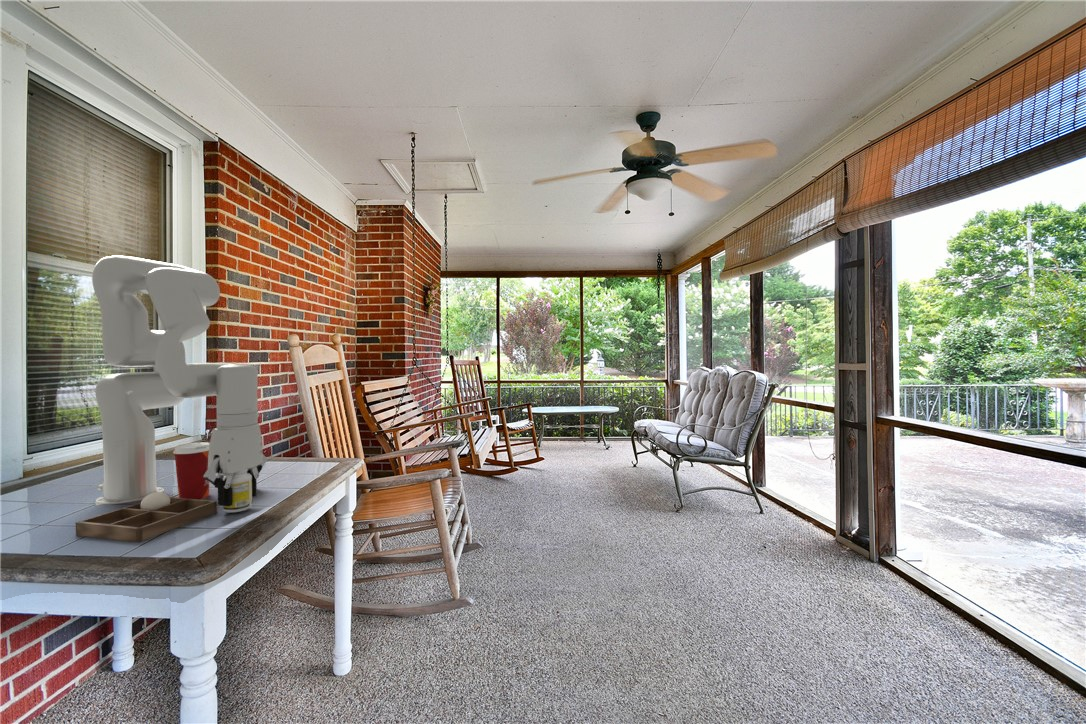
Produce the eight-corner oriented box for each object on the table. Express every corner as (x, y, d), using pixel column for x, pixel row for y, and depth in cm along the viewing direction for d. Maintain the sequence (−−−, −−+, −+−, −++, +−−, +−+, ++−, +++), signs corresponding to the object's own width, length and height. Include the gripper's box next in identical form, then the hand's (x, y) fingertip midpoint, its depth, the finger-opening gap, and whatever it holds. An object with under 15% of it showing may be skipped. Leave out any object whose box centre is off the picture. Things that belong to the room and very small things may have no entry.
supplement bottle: (232, 504, 102) (232, 462, 101) (257, 504, 102) (257, 462, 102) (217, 513, 96) (216, 468, 96) (243, 513, 97) (243, 468, 96)
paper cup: (220, 498, 111) (219, 443, 110) (185, 508, 104) (183, 449, 104) (202, 494, 114) (201, 440, 114) (166, 504, 107) (165, 446, 107)
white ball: (134, 518, 95) (133, 495, 95) (159, 509, 100) (158, 488, 100) (152, 519, 94) (152, 496, 94) (176, 511, 99) (176, 489, 99)
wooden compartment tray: (76, 539, 87) (75, 522, 87) (160, 511, 102) (160, 496, 102) (139, 547, 83) (138, 529, 83) (217, 516, 99) (216, 501, 99)
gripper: (255, 413, 108) (255, 487, 108) (185, 425, 91) (185, 512, 91) (282, 415, 106) (282, 490, 107) (215, 428, 89) (215, 516, 90)
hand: (237, 499), depth 99 cm, fingers closed on supplement bottle, 5 cm apart
